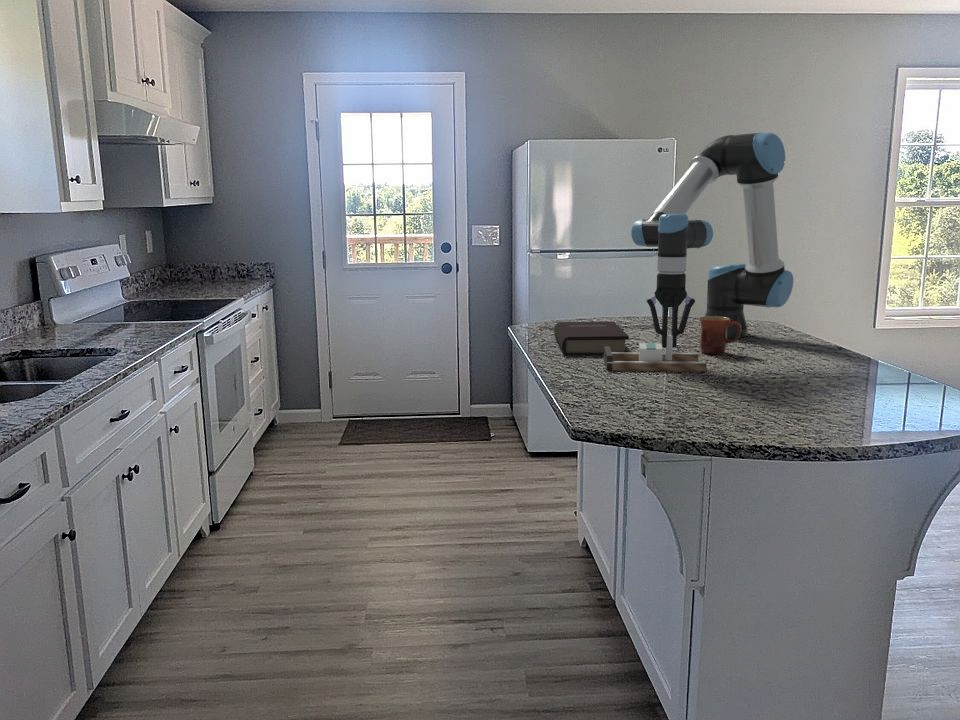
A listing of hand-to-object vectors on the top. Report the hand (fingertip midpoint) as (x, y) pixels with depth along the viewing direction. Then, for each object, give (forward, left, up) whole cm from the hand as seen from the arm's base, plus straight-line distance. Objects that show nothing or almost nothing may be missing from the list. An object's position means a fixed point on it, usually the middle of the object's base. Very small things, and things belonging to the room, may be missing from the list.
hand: (668, 359), depth 215 cm
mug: (-17, -18, -2) cm, 25 cm away
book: (+20, -28, -2) cm, 35 cm away
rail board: (+4, 0, -2) cm, 4 cm away
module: (+5, 0, -2) cm, 5 cm away
